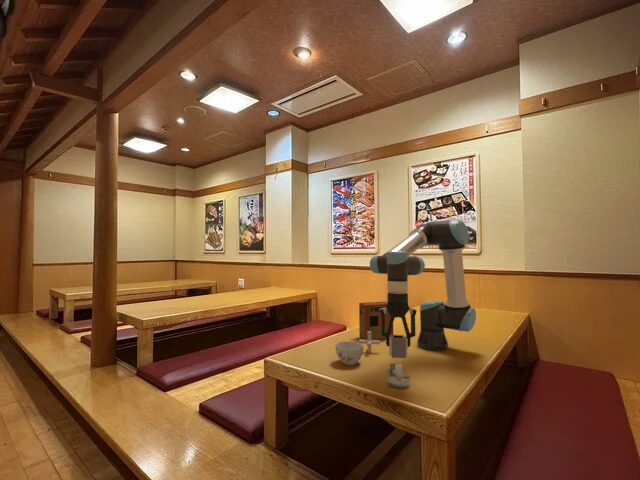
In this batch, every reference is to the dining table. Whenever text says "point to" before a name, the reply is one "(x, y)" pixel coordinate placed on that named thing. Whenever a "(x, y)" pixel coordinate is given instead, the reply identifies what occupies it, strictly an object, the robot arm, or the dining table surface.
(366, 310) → the box
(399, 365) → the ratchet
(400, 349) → the square hollow tube
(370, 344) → the pipe connector
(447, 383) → the dining table surface
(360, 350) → the teacup
